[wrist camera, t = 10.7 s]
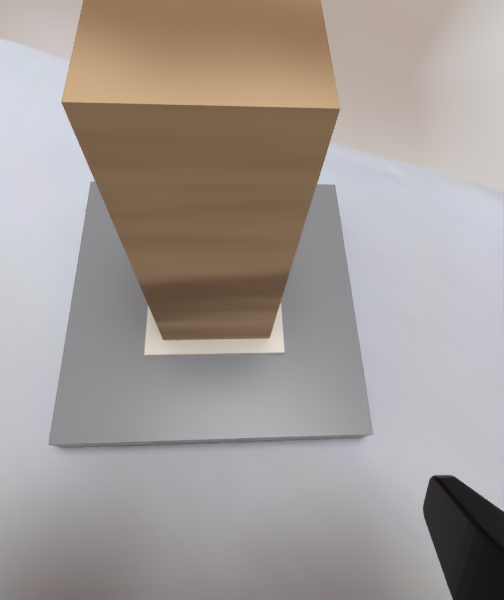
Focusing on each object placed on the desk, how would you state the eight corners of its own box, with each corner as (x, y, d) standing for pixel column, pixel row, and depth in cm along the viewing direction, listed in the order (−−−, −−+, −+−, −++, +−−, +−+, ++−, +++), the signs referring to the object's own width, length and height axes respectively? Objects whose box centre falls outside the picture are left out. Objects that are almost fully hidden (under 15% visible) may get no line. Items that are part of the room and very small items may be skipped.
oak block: (269, 338, 19) (340, 108, 8) (163, 340, 19) (61, 102, 7) (264, 248, 21) (312, -44, 10) (168, 248, 21) (95, -55, 9)
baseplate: (362, 437, 19) (375, 433, 18) (61, 447, 18) (45, 443, 17) (329, 201, 25) (336, 181, 24) (98, 198, 24) (89, 178, 23)
